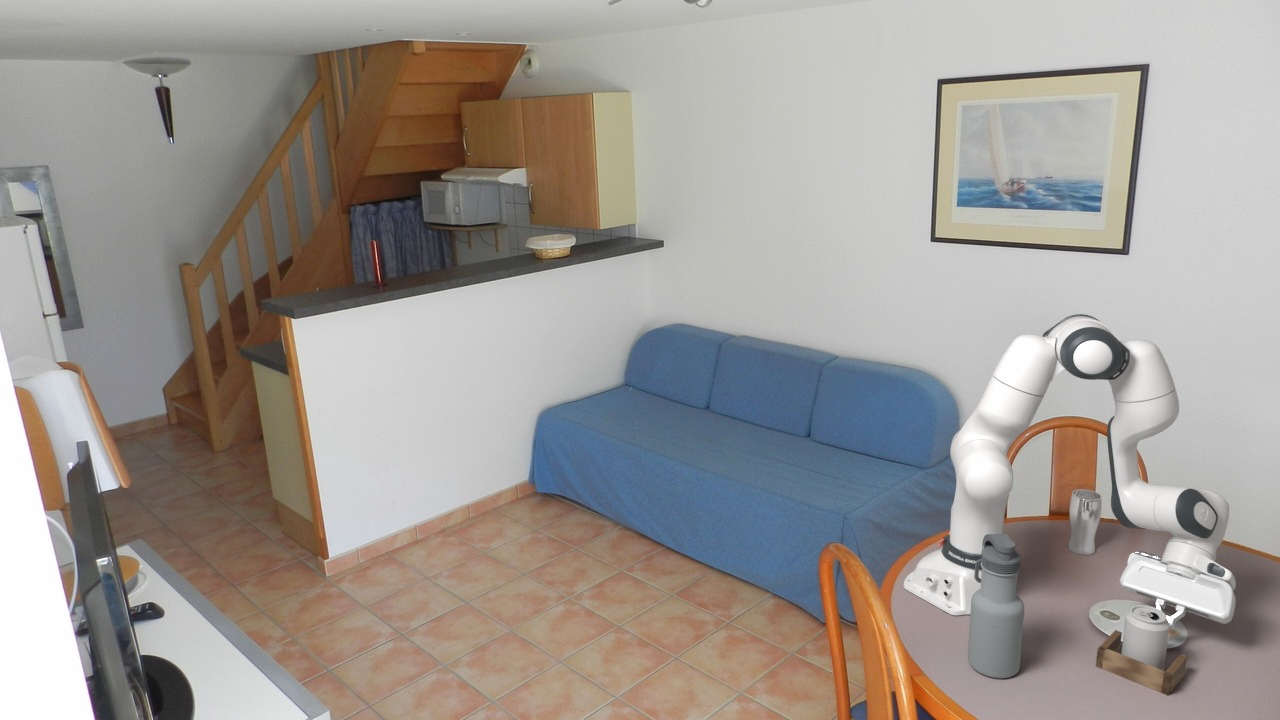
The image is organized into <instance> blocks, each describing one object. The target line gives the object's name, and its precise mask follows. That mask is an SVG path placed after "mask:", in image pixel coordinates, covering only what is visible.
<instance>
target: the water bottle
mask: <svg viewBox="0 0 1280 720" xmlns="http://www.w3.org/2000/svg"><path fill="white" fill-rule="evenodd" d="M981 555H982V559H979V560H977V561H976V563H975V574H974V578H975V580H976V581H977V582H979V583H981V589H979V590H977V591H976V592H975V593H974V594H973V596H972V598H971V610H970V614H969V626H968V627H969V629H968V647H967V661H968V663H969V665H970V667H971V668H973V670H974V671H975V672H978V673H979V674H981V675H983V676H986V677H988V678H993V679H1008V678H1011V677H1014V676H1016V674H1017V673H1018V672H1019V671H1020V669H1021V659H1022V647H1023V646H1022V645H1023V635H1024V634H1023V633H1024V621H1025V619H1024V618H1025V604H1024V601H1023V599H1022V598H1021V597H1020V596H1019V595H1018V591H1017V590H1018V580H1019V578H1018V577H1019V573H1020V571H1021V569H1020V567H1021V555H1020V553H1019V552H1018V551H1017V550H1016V543H1015V542H1014V541H1013V540H1012V539H1011V538H1010V536H1009V535H1008V534H1006V533H1003V534H986V535H985V536H984V538H983V543H982V552H981ZM980 565H981V567H982V575H981V579H980V578H979V576H978V574H979V566H980Z"/></svg>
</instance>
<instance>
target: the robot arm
mask: <svg viewBox="0 0 1280 720" xmlns="http://www.w3.org/2000/svg"><path fill="white" fill-rule="evenodd" d="M1166 361H1167V360H1166V359H1165V357H1164V355H1163V353H1162V352H1161V350H1160V347H1158V346H1157V344H1156V343H1154V342H1153V341H1151V340H1146V339H1139V338H1138V339H1137V338H1136V339H1130V340H1129V339H1128V340H1126V341H1122V340H1121V341H1120V340H1119V339H1118V338H1117V337H1116V336H1115V335H1114V334H1113V333H1112V331H1111V330H1110V328H1109V327H1108V326H1106V324H1104V323H1103V322H1101V321H1100V320H1099V319H1098V318H1096V317H1094V316H1092V315H1088V314H1081V313H1079V314H1078V313H1077V314H1073V315H1069V316H1066V317H1065V318H1063V319H1061V320H1060V321H1059V322H1058V323H1056V324H1054V326H1052V327H1050V328H1048V329H1047V330H1046V331H1044V332H1043V334H1042V335H1038V334H1033V333H1025V334H1020V335H1018V336H1017V337H1015V338H1014V339H1013V340H1012V342H1011V343H1010V344H1009V346H1008V347H1007V348H1006V349H1005V351H1004V353H1003V354H1002V356H1001V357H1000V358H999V361H998V363H997V364H996V366H995V368H994V371H993V372H992V374H991V376H990V378H989V380H988V383H987V384H986V388H984V392H983V393H982V395H981V397H980V400H979V401H978V404H977V406H976V407H975V408H974V410H973V412H972V413H971V415H970V416H969V417H968V419H967V420H966V422H965V423H964V425H963V426H962V428H961V429H959V430H958V431H957V432H956V433H955V434H954V436H953V437H952V439H951V443H950V444H951V445H950V448H949V449H950V459H951V463H952V465H953V468H954V472H955V479H956V483H955V484H956V486H955V494H954V498H953V499H954V500H953V503H952V505H951V507H950V523H949V524H950V528H949V532H948V534H946V535H945V536H943V537H942V539H941V540H939V542H938V545H937V546H938V548H939V549H937V550H934V551H931V552H930V553H928V554H926V555H925V556H924V557H922V558H921V559H920V560H919V562H918V563H917V564H916V566H915V569H914V570H913V571H912V572H910V573H909V574H908V575H907V576H906V577H905V578H904V581H903V589H905V590H906V591H908V592H910V593H911V594H913V595H915V596H917V597H919V598H920V599H922V600H924V601H925V602H928V603H930V604H931V605H933V606H935V607H937V608H938V609H940V610H942V611H944V612H946V613H948V614H949V615H951V616H964V615H970V610H971V598H972V596H973V594H974V593H975V592H976V591H977V590H979V589H981V583H979V582H977V581H976V580H975V578H974V574H975V563H976V561H977V560H979V559H982V555H981V552H982V543H983V538H984V536H985V535H986V534H1004V524H1005V523H1004V522H1005V513H1006V509H1007V505H1008V501H1009V498H1010V493H1011V491H1012V489H1013V485H1014V471H1013V467H1012V464H1011V462H1010V460H1009V458H1008V452H1009V450H1010V447H1012V444H1013V443H1014V442H1015V441H1016V439H1017V438H1018V437H1019V436H1020V434H1021V433H1023V432H1024V431H1026V430H1027V429H1029V427H1030V425H1031V423H1032V421H1033V419H1034V417H1035V416H1036V413H1037V411H1038V410H1039V407H1040V405H1041V403H1042V401H1043V399H1044V397H1045V395H1046V392H1048V388H1049V387H1050V383H1051V382H1052V381H1053V380H1054V378H1056V376H1057V375H1059V374H1060V373H1061V372H1063V371H1065V370H1066V371H1067V372H1068V373H1069V374H1071V376H1074V377H1076V378H1079V379H1083V380H1094V381H1095V380H1105V381H1108V382H1109V385H1110V388H1111V391H1112V396H1113V400H1114V405H1115V409H1114V411H1115V412H1114V415H1113V416H1112V417H1111V418H1110V419H1109V421H1108V422H1107V429H1106V440H1107V441H1106V442H1107V450H1108V451H1107V452H1108V460H1109V461H1108V462H1109V471H1110V479H1111V497H1110V508H1111V511H1112V513H1113V516H1114V518H1116V520H1117V521H1118V522H1119V523H1120V524H1121V525H1122V526H1123V527H1126V528H1128V529H1137V530H1138V529H1140V530H1150V531H1151V530H1152V531H1160V532H1165V533H1170V534H1171V537H1170V539H1169V540H1168V541H1167V543H1166V546H1165V549H1164V551H1163V554H1162V556H1160V555H1156V554H1152V553H1148V552H1146V551H1142V550H1139V551H1134V552H1132V553H1130V554H1129V556H1128V559H1127V562H1126V566H1125V569H1124V570H1123V572H1122V574H1121V575H1120V579H1119V583H1120V586H1121V587H1122V589H1123V590H1124V591H1126V592H1128V593H1131V594H1134V595H1138V596H1139V597H1143V598H1146V599H1148V600H1152V601H1155V606H1156V607H1155V608H1157V609H1159V610H1161V611H1162V612H1163V609H1165V608H1166V606H1171V607H1173V608H1175V611H1176V612H1175V613H1174V614H1172V615H1171V616H1170V615H1166V616H1167V620H1168V622H1169V623H1170V627H1169V629H1173V628H1174V626H1175V624H1176V622H1177V621H1179V620H1180V619H1182V618H1184V617H1185V615H1186V614H1187V612H1188V613H1191V614H1193V615H1196V616H1199V617H1202V618H1206V619H1208V620H1212V621H1215V622H1217V623H1220V624H1225V625H1226V624H1228V623H1230V622H1232V620H1233V618H1234V614H1235V609H1236V595H1235V592H1234V590H1235V589H1236V587H1237V585H1236V584H1237V582H1236V578H1235V575H1234V574H1233V573H1232V571H1230V570H1229V569H1227V568H1226V567H1224V566H1222V565H1221V564H1219V563H1217V562H1216V560H1217V550H1218V547H1220V546H1221V544H1222V543H1223V541H1224V537H1225V536H1226V535H1225V534H1226V530H1227V527H1228V523H1229V518H1230V505H1229V502H1228V501H1227V500H1226V499H1225V498H1224V496H1222V495H1220V494H1219V493H1217V492H1214V491H1212V490H1209V489H1205V488H1196V489H1195V488H1191V487H1186V486H1178V485H1166V484H1165V485H1163V484H1153V483H1149V482H1146V481H1144V479H1142V478H1141V476H1140V470H1139V469H1140V468H1139V467H1140V466H1139V457H1138V450H1137V449H1138V444H1139V442H1140V441H1142V440H1146V439H1149V438H1151V437H1154V436H1156V435H1158V434H1160V433H1162V432H1165V430H1167V429H1168V428H1170V427H1171V426H1172V425H1173V424H1174V423H1175V421H1176V420H1177V419H1178V416H1179V414H1180V401H1179V396H1178V392H1177V389H1176V386H1175V383H1174V380H1173V376H1172V373H1171V370H1170V368H1169V366H1168V363H1167V362H1166ZM941 546H942V547H941ZM940 547H941V548H940ZM981 575H982V567H981V565H980V566H979V574H978V576H979V578H980V579H981Z"/></svg>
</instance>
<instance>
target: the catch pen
mask: <svg viewBox="0 0 1280 720" xmlns="http://www.w3.org/2000/svg"><path fill="white" fill-rule="evenodd" d="M1122 633H1123V632H1122V631H1119V630H1116V629H1114V631H1113V632H1112V633H1111V634H1110V635H1109V636H1108V637H1107V638H1106V640H1104V641H1103V642H1102V643H1101V645H1099V646H1098V648H1097V652H1096V662H1095V667H1098V668H1099V669H1102V670H1105V671H1107V672H1109V673H1112V674H1114V675H1117V676H1119V677H1121V678H1124V679H1127V680H1129V681H1131V682H1135V683H1136V684H1139V685H1141V686H1143V687H1147V688H1150V689H1152V690H1153V691H1156V692H1159V693H1161V694H1164V695H1166V696H1169V695H1170V694H1171V693H1172V691H1173V690H1174V689H1175V688H1176V686H1177V685H1178V684H1179V683H1180V681H1181V680H1182V678H1183V677H1184V676H1185V674H1186V668H1187V667H1186V666H1187V660H1188V656H1187V655H1184V654H1181V653H1180V654H1179V655H1178V656H1177V658H1175V660H1174V661H1173V662H1172V664H1171V665H1170V666H1169V667H1168V668H1167V669H1166V670H1164V669H1163V670H1161V669H1158V668H1155V667H1153V666H1150V665H1148V664H1145V663H1142V662H1140V661H1137V660H1135V659H1132V658H1130V657H1127V656H1124V655H1122V654H1121V653H1119V651H1120V650H1121V642H1122Z"/></svg>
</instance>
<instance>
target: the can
mask: <svg viewBox="0 0 1280 720" xmlns="http://www.w3.org/2000/svg"><path fill="white" fill-rule="evenodd" d="M1167 616H1168V615H1166V613H1164V612H1163V610H1162V611H1161V610H1159V609H1157V607H1153V606H1150V605H1146V604H1138V605H1133V606H1131V607H1130V609H1129V611H1127V613H1125V618H1124V619H1125V620H1124V625H1123V627H1124V628H1123V637H1122V645H1121V653H1120V654H1122V655H1124V656H1127V657H1130V658H1132V659H1135V660H1137V661H1140V662H1142V663H1145V664H1148V665H1150V666H1153V667H1155V668H1158V669H1161V670H1163V671H1164V669H1165V663H1166V655H1167V650H1168V649H1167V648H1168V641H1169V635H1170V634H1169V633H1170V623H1169V622H1168V620H1167Z"/></svg>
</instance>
